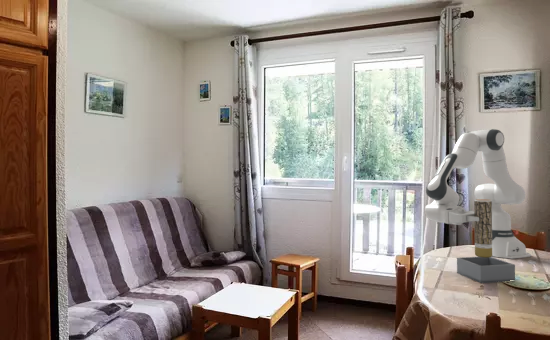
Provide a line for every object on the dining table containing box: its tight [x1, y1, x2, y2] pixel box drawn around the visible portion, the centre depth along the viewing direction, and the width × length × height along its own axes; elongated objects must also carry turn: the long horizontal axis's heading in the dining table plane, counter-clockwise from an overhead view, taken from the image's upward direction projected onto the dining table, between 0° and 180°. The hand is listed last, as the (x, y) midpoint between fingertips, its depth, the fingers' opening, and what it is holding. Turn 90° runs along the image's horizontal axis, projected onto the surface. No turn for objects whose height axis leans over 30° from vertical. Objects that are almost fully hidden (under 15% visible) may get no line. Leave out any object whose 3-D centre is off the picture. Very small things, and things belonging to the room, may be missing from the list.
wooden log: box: [473, 198, 493, 258], centre depth 169 cm, size 7×7×25 cm
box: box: [456, 256, 516, 284], centre depth 169 cm, size 16×16×7 cm
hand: (485, 218), depth 168 cm, fingers closed on wooden log, 7 cm apart
